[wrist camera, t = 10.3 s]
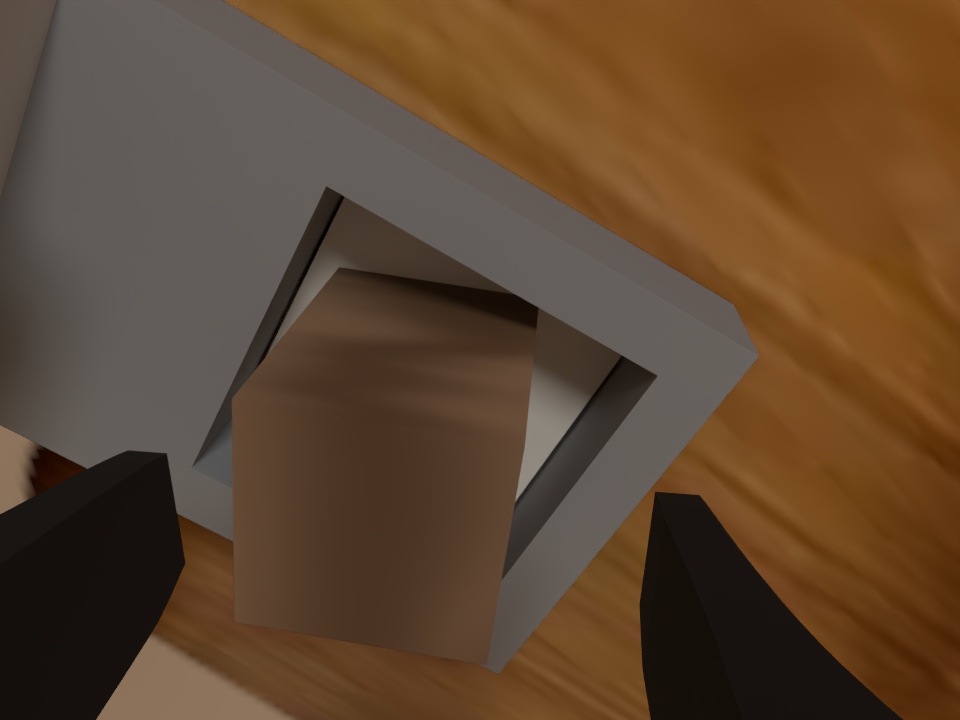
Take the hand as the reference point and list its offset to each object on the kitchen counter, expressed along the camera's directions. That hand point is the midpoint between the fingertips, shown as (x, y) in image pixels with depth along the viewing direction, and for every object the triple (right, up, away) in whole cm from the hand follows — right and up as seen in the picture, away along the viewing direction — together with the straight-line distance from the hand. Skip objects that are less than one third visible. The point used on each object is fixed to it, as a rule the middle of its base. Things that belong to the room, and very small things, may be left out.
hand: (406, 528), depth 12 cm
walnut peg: (0, +2, +9) cm, 9 cm away
